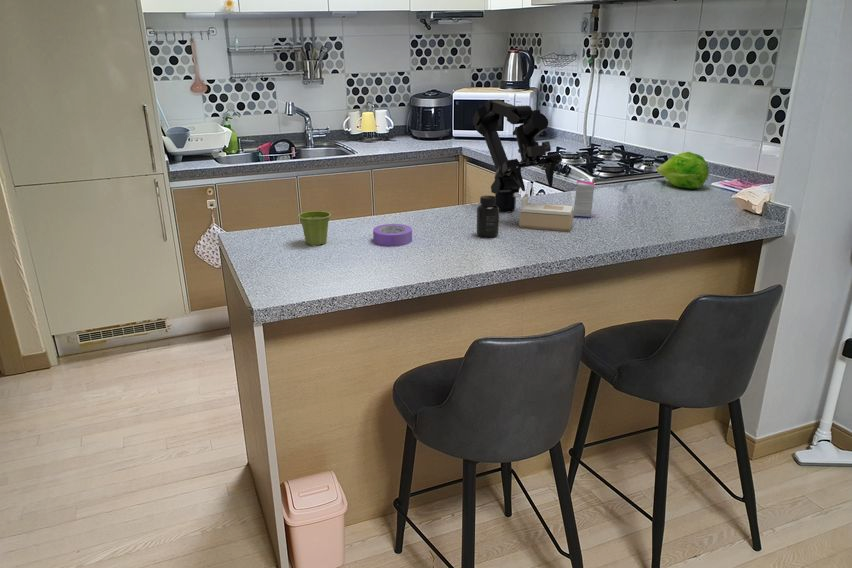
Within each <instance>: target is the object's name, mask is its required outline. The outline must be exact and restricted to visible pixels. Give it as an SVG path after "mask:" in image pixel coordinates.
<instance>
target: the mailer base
mask: <svg viewBox="0 0 852 568" xmlns="http://www.w3.org/2000/svg"><path fill="white" fill-rule="evenodd" d="M573 221H574V209H573V211H572V213H571V215H557V214H543V213H530V212H521V211H519V224H518V225H519V226H518V228H520V229H531V230H532V229H533V230H543V231H557V232H568V233H569V232H571V230H572V227H573V223H574V222H573Z"/></svg>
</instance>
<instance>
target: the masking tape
mask: <svg viewBox="0 0 852 568" xmlns="http://www.w3.org/2000/svg"><path fill="white" fill-rule="evenodd" d="M372 236H373V243H374V244H376V245H378V246H382V247H383V246H384V247H401V246H406V245H409V244H411V243H412V242H413V228H412V227H411V226H409V225H407V224H402V223H385V224H381V225H377V226H375V227H373V229H372Z"/></svg>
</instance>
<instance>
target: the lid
mask: <svg viewBox="0 0 852 568" xmlns="http://www.w3.org/2000/svg"><path fill="white" fill-rule="evenodd" d="M520 201H521V203H520V204H521V205H520V212H530V213H543V214H557V215H571V213H572V211H573V210H574V205H565V204H564V205H563V204H562V205H561V204H550V203H549V204H548V203H535V202H529V193H528V194H527V193H526V194H524V195H523V196H522V198H521V200H520Z"/></svg>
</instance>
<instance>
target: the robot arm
mask: <svg viewBox="0 0 852 568" xmlns="http://www.w3.org/2000/svg"><path fill="white" fill-rule="evenodd" d="M501 117H503V118H504V117H505V118H506V121H507V122H508V123H509V124H511V125H519V126H515V127H514V130H513V131H512V136H515V137H516V142H517V145H518V149H517V152H518V154H519V155H520V159H521V161H519V159H518V158H512V159H508V156H507V154H506V151H505V149H504V146H503V144H502V143H503V142H502V140H501V138H500V135H499V133H498V126H499V124H500V123H499V121H500V119H501ZM472 123H473V126H474V128H475V129H476V132H477V133H478V134H480V135H481V136H483V137H484V140H485V143H486V146H487V148H488V152H489V153H490V156H491V159H492V162H493V164H494V168H495V174H494V181H493V182H492V184H490V185H491V186H490V191H491V194H493V195H494V194H495V195H494V196H495V197H496V204H495V205H497V206H498V207H499V212H502V213H513V211H514V210H516V204H517V196H515V194H518V193H520V189H521V191H522V192H525V191H526V186H525V183H524V179H523V176H522V169H523V168H529V167H536V166H545V168H544V172H545V177H546V180H547V183H548V186H549V188H553V182H554V181H553V180H554V173H555V169H556V167H558V166H559V164H561V163H562V162H563V158H562V155H561V154H560V153H559V152H557V153H551V154H550V153H549V154H548V155H547V153H548V152H551V149H552V148H551V143H550V141H541V145H539V142H538V141H537V140H536V137H538V136H539V135H540V134H541V133H543V132H544V130H547V128H548V126H549V120H548V118H547V116H546V115H544V114H543V113H541V110H540V109H534V110H533V109H532V107H531V105H514V104H511V103H508V102H505V101H502V100H500V99H489V100H486V102H485V103H484V105H482V106H481V107H480V108H477V110H476V112H475V113H474V115H473V117H472ZM546 155H547V156H546ZM544 156H546V157H545V158H543V157H544Z"/></svg>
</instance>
